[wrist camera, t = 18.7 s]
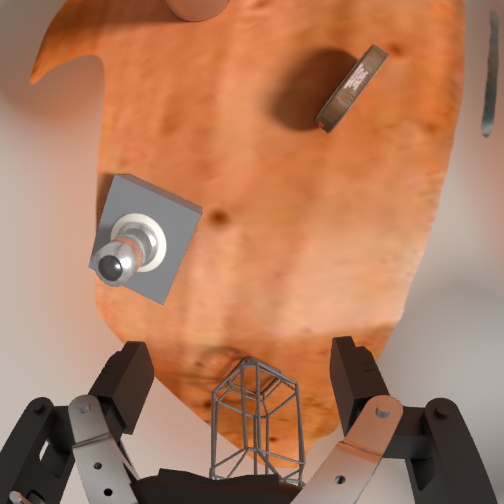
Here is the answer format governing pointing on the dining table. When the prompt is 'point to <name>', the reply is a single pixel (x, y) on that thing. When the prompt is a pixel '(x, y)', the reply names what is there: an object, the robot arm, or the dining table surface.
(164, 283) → the stand
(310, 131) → the dining table surface
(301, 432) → the geometric lantern
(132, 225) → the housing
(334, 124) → the tin
